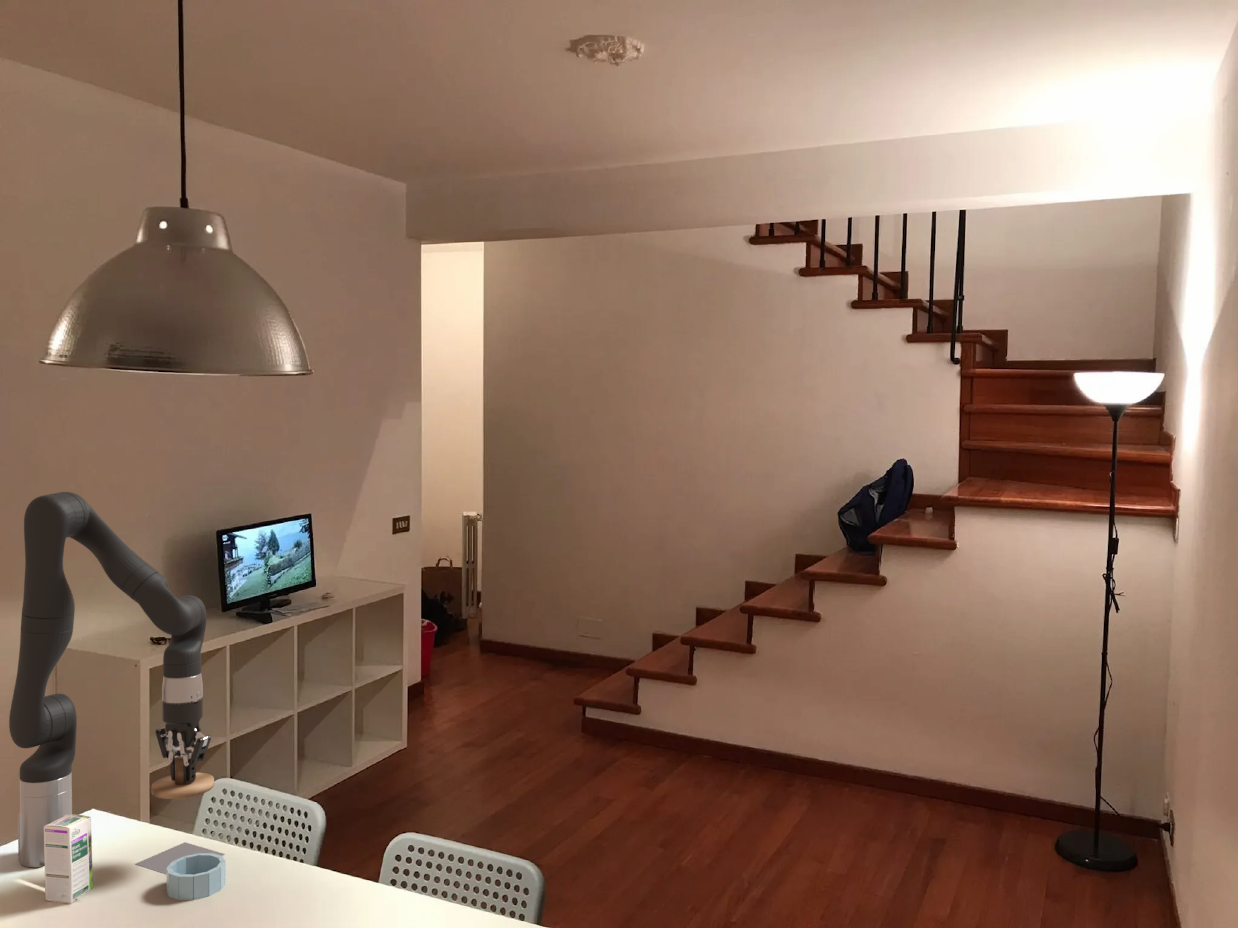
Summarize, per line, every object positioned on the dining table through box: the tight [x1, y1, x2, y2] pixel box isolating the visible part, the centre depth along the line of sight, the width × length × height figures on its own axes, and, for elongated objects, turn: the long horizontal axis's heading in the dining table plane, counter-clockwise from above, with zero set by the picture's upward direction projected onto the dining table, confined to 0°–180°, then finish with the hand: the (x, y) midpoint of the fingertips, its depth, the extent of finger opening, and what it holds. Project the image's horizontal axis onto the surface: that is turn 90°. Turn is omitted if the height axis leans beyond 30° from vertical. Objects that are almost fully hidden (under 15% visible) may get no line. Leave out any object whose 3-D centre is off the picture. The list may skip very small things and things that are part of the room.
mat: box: [134, 842, 226, 875], centre depth 204 cm, size 12×12×1 cm
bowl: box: [166, 853, 226, 901], centre depth 192 cm, size 10×10×5 cm
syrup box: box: [44, 814, 94, 905], centre depth 189 cm, size 6×6×14 cm
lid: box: [151, 755, 215, 800], centre depth 202 cm, size 12×12×7 cm
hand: (183, 780), depth 202 cm, fingers closed on lid, 3 cm apart
